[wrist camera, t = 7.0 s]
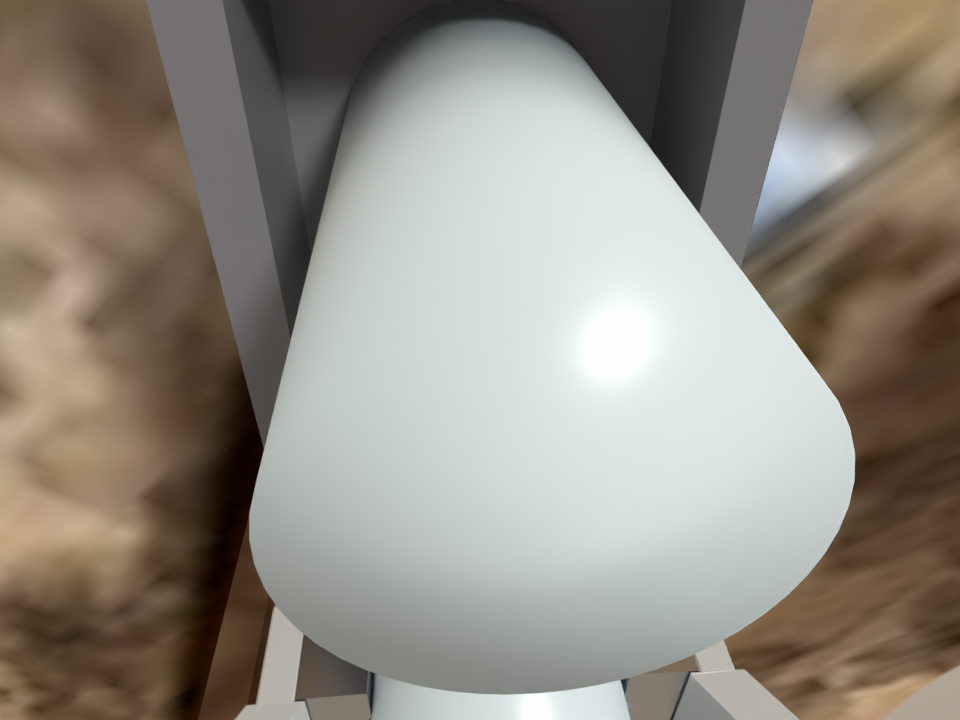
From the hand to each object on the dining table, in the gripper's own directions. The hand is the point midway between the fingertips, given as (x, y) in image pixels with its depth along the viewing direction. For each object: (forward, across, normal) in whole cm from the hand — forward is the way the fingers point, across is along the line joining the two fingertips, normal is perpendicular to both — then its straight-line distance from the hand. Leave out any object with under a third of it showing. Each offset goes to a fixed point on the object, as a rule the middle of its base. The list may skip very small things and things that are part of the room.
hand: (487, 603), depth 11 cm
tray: (+4, 0, 0) cm, 4 cm away
